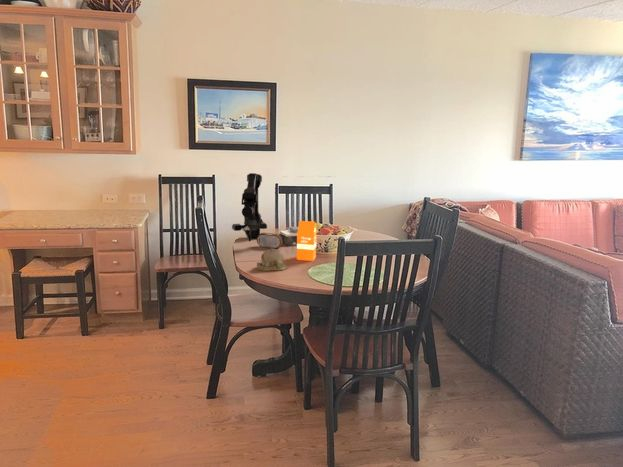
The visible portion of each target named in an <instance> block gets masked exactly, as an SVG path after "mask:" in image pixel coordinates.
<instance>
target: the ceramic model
mask: <svg viewBox="0 0 623 467" xmlns="http://www.w3.org/2000/svg"><path fill="white" fill-rule="evenodd" d="M284 256H285V255H284V254H283V253H282V252H281V251H280V250H279V249H274V248H270V249H269V250H267V249H266V250H265V251H264V252H263V253H262V254H261V257H260V258H261V262H260V261H257V262H256V266H257V270H259V271H265V272H266V271H284V270H287V269H288V267H287V265H286V264H284V261H285V257H284Z"/></svg>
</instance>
